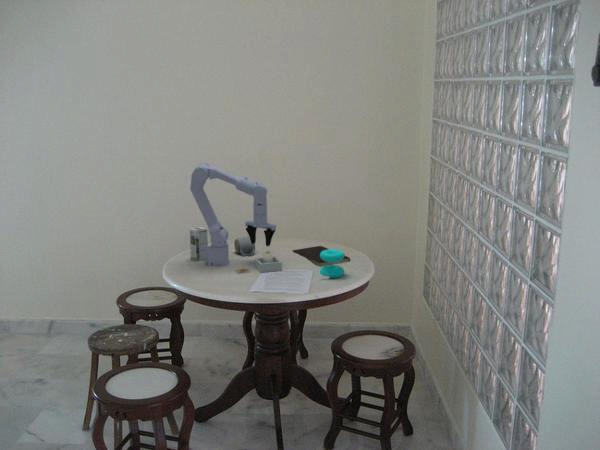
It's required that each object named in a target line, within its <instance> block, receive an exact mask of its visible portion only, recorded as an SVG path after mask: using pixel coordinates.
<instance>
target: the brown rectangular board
mask: <svg viewBox="0 0 600 450" xmlns="http://www.w3.org/2000/svg"><path fill="white" fill-rule="evenodd" d="M234 272H235V273H236V274H237V275H238V274H239V275H240V274H249V273H251V271H250V269H249V268H238V269H234Z"/></svg>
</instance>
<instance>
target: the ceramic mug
mask: <svg viewBox="0 0 600 450" xmlns="http://www.w3.org/2000/svg"><path fill="white" fill-rule="evenodd" d="M234 250H235V253H236V254H241V256H243V257H246V256H248V257H252V256H253V255H254V253H255V250H256V242H255V243H254V244H251V240H250V237H249V235H248V236H243V237H237V238H235V240H234Z"/></svg>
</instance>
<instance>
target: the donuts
mask: <svg viewBox="0 0 600 450" xmlns="http://www.w3.org/2000/svg"><path fill="white" fill-rule="evenodd" d="M344 256H346V255H345V253H344V252H343V250H341V249H340V250H339V249H334V248H333V249H331V248H328V250H324V251H322V252H321V253H320V257H321V259H322V260H324V261H327V262H338V261H341V260H342V259H343V258H344ZM319 274H321V275H322V276H328V278H330V279H339V278H341V277H343V276H344V274H345V270H344V268H343V267H342V266H340V265H336V264H330V265H324V266H321V268H320V269H319Z"/></svg>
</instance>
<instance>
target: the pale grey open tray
mask: <svg viewBox="0 0 600 450" xmlns="http://www.w3.org/2000/svg"><path fill="white" fill-rule="evenodd" d="M254 267H255V268H256V269H257V271H259V272H260V273H269V272H279V271H282V270H283V262H282V261H281V260H280V259H279V258H278V257H277V256H273V263H264V264H263V257H260V258H259V257H257V258H254Z"/></svg>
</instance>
